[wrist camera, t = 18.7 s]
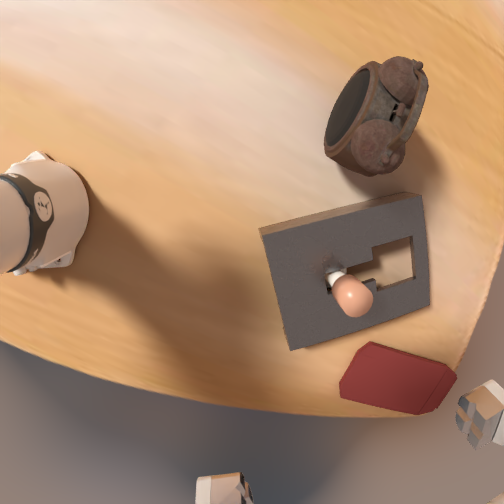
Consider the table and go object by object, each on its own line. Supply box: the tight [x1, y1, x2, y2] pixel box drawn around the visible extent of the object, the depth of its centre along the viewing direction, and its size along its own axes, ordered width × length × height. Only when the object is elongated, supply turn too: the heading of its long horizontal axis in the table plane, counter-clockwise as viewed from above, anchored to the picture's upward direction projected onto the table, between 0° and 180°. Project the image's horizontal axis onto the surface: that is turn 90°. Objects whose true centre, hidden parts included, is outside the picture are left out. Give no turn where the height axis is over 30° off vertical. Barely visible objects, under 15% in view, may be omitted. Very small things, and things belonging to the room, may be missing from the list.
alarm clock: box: [324, 56, 429, 177], centre depth 34 cm, size 14×7×20 cm, turn 158°
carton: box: [339, 341, 457, 415], centre depth 55 cm, size 12×5×25 cm
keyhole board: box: [258, 192, 430, 351], centre depth 47 cm, size 18×24×5 cm
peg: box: [324, 268, 373, 317], centre depth 43 cm, size 5×5×12 cm
